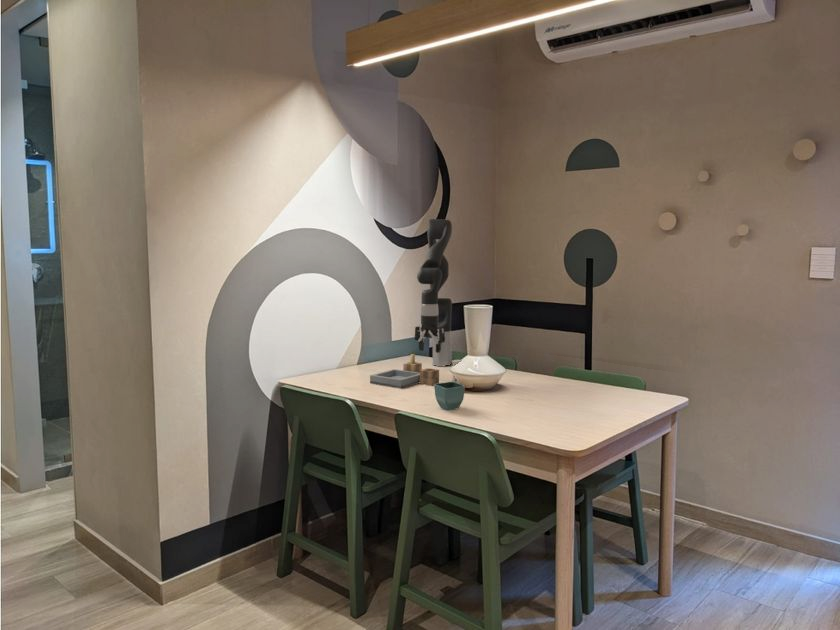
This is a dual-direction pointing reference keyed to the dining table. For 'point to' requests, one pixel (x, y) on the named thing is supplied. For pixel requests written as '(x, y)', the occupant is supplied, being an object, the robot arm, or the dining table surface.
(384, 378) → the tray
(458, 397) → the flower pot
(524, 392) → the dining table surface
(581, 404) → the dining table surface
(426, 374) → the bored block
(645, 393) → the dining table surface
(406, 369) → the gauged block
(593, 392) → the dining table surface
